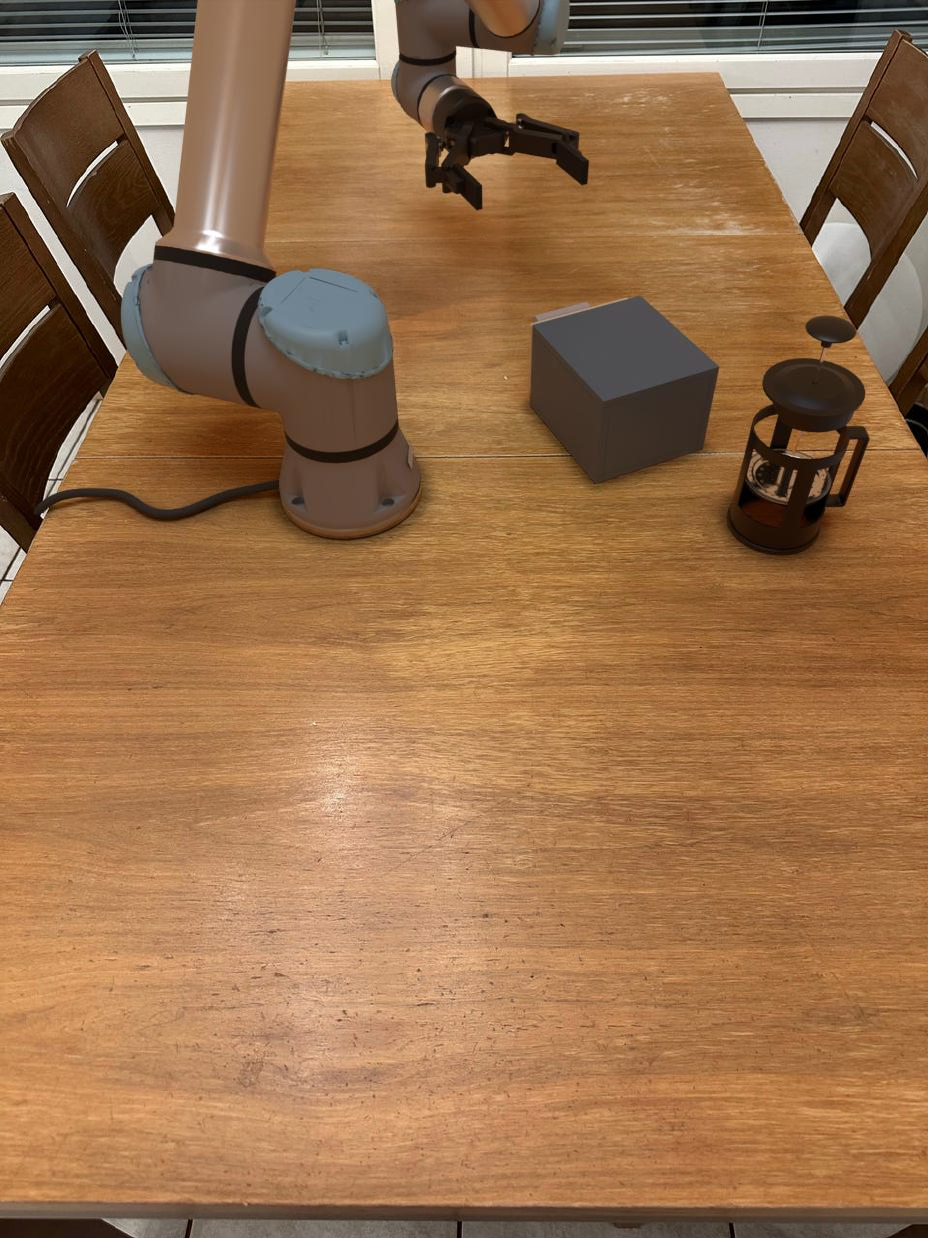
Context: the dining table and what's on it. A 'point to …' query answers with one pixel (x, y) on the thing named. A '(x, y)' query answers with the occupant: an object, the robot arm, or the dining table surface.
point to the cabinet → (621, 387)
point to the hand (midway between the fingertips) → (533, 185)
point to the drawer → (557, 314)
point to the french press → (788, 477)
